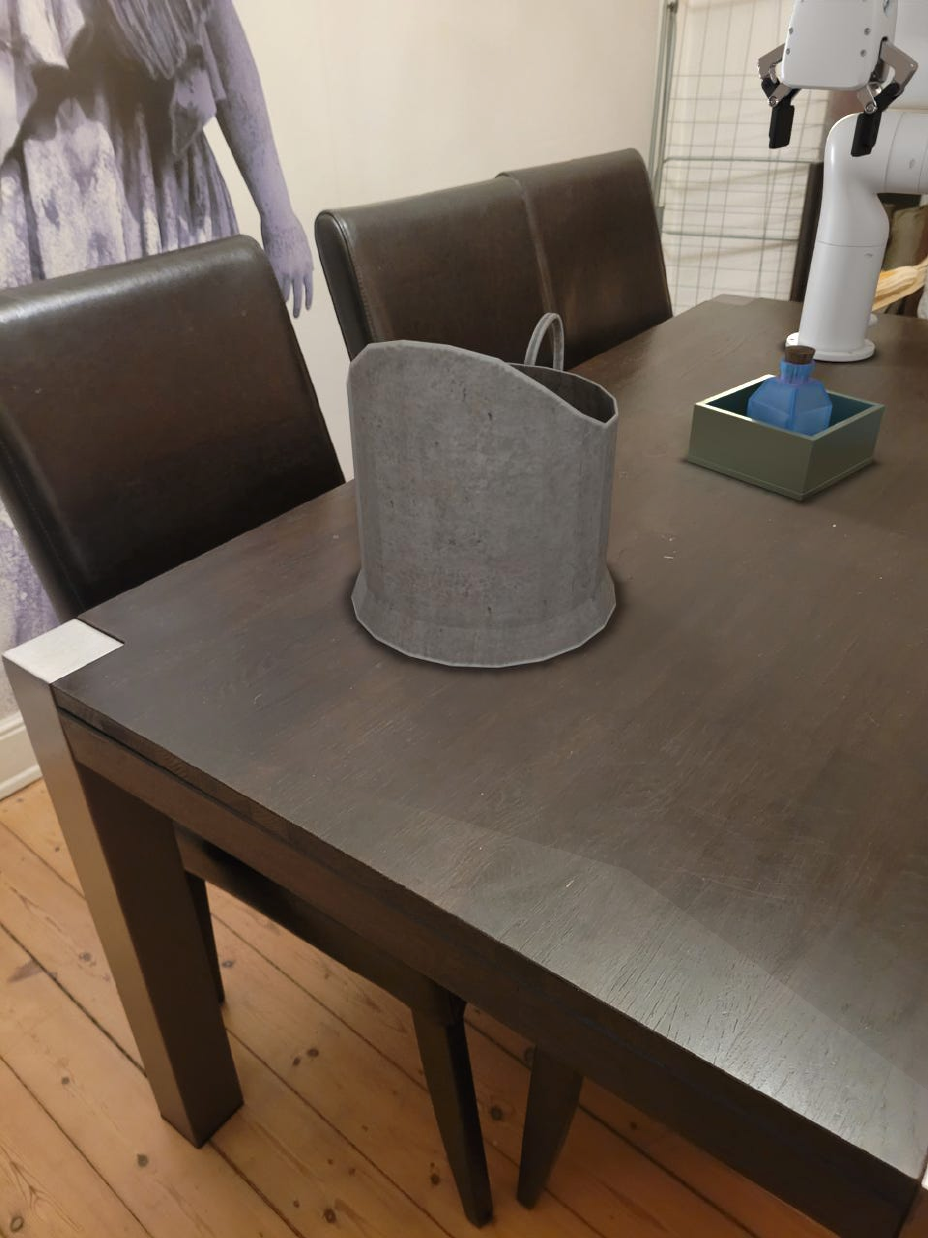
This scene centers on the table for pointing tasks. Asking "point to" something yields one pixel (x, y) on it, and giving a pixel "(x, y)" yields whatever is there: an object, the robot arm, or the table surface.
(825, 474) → the basket
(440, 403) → the coal scuttle
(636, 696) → the table surface
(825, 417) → the perfume bottle
